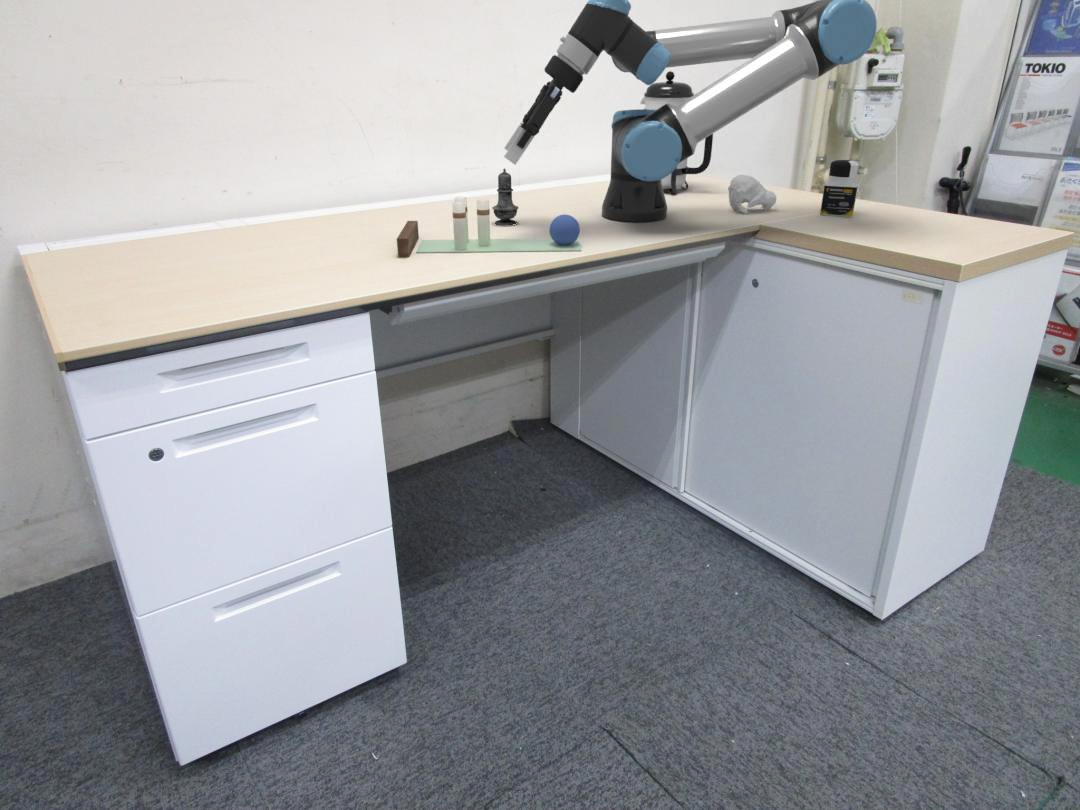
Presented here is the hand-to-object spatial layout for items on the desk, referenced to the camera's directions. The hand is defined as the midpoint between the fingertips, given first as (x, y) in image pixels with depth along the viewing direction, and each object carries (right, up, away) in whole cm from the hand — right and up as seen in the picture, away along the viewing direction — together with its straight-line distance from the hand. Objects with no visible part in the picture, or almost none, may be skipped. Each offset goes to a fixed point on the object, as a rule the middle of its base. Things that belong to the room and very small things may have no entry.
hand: (509, 156), depth 156 cm
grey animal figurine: (+57, -5, +24) cm, 62 cm away
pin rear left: (-9, -21, -9) cm, 25 cm away
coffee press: (+42, +7, +50) cm, 65 cm away
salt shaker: (-1, -11, +12) cm, 17 cm away
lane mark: (-2, -20, -7) cm, 21 cm away
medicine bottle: (+76, -7, +21) cm, 79 cm away
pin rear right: (-9, -19, -4) cm, 22 cm away
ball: (+11, -17, -8) cm, 22 cm away
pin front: (-5, -20, -7) cm, 22 cm away
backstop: (-20, -20, -7) cm, 29 cm away
